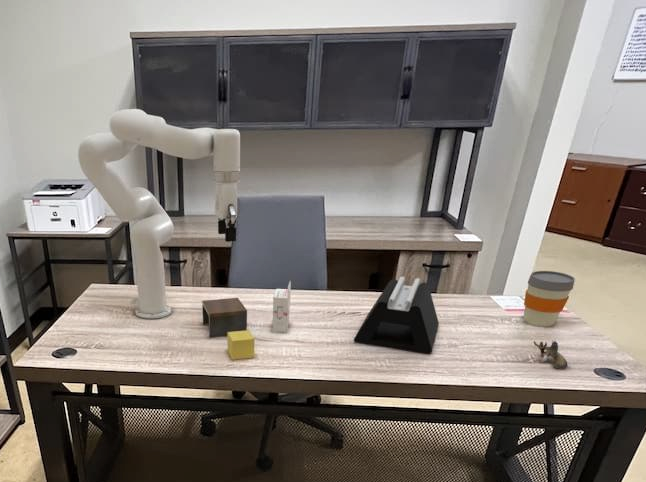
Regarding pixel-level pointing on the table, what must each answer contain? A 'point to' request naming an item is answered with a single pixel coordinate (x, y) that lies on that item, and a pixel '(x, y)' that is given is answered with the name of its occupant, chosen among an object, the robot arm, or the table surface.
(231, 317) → the stand
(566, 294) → the reusable coffee cup
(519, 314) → the table surface
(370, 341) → the device stand
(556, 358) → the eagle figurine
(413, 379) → the table surface
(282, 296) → the ink cartridge box
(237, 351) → the sticky-note cube
